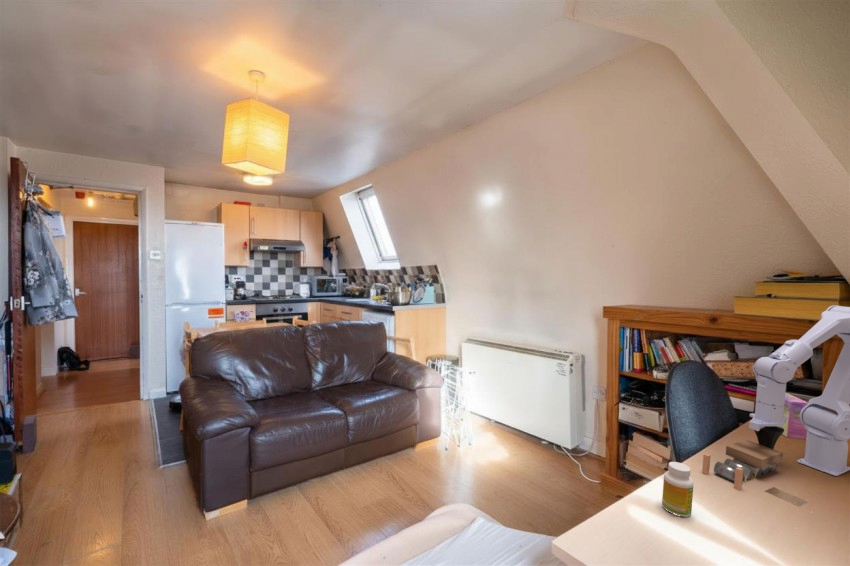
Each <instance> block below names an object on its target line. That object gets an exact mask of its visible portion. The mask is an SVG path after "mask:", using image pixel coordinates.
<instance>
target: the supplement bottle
mask: <svg viewBox="0 0 850 566" xmlns="http://www.w3.org/2000/svg"><path fill="white" fill-rule="evenodd" d="M667 469H668V470H667V471H666V472H665V473H664V475H663V483H662V485H663V486H662V497H661V498H662V499H661V506H662V505H663V506H662V507H664V508H665V509H667V510H668V511H670V512H672V513H675V514H677V515H680V516H684V517H683V518H688V516H689V517H691V515H692V512H693V511H692V508H693V498H694V497H693V496H694V481H693V479H692V478H691V467H690V466H688V465H687V464H685V463H681V462H677V461H670V462H668V466H667ZM664 508H663V509H664ZM665 509H664V510H665ZM668 511H667V512H668ZM680 516H679V517H680Z"/></svg>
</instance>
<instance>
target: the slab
mask: <svg viewBox="0 0 850 566" xmlns="http://www.w3.org/2000/svg"><path fill="white" fill-rule="evenodd" d="M725 455H726V456H728V457H731V458H733V459H734V458H735V459H738V460H740V461H743V462H745V463H748V464H750V465H752V466H755V467H757V468H760V469H764V468H766V467H769V466H772V465H775V464H776V465H777V464H779V463H783V455H784V452H782V451H779V450H776V449H771V448H768V447H766V446H763V445H760V444H759V443H756V442H755V441H751V440H750V439H749V440H748V439H745V440H742V441H739V442H735V443H731V444H728V445H726V446H725Z"/></svg>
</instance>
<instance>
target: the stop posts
mask: <svg viewBox="0 0 850 566" xmlns="http://www.w3.org/2000/svg"><path fill="white" fill-rule="evenodd" d="M711 456H712V455H711V454H708V453H703V456H702V471H701V473H702V474H704V475H710V469H711V468H710V467H711ZM742 478H743V469H742V468H739V467H737V468H736V470H735V482H733V483H734V485H733V488H734V489H736V490H738V491H740V490H742V489H743V487H742V486H743V481H742Z"/></svg>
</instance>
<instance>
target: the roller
mask: <svg viewBox="0 0 850 566" xmlns="http://www.w3.org/2000/svg"><path fill="white" fill-rule="evenodd" d="M733 460H734V459H731V458H726V459H725V460H724V462H723V463H724V464H726V465H728V466H731V467H733V468H735V469H736V468H737V467H739V468H742V469H743V474H744V475H746V476H747V478H746V479H747V480H749V479H750V478H751V477H752V474H753V470H752V468H750V467H748V466H745V465H743V464H740V463H738V462H736V461H733Z"/></svg>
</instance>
